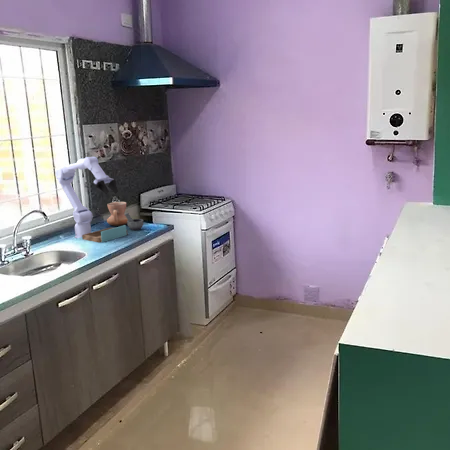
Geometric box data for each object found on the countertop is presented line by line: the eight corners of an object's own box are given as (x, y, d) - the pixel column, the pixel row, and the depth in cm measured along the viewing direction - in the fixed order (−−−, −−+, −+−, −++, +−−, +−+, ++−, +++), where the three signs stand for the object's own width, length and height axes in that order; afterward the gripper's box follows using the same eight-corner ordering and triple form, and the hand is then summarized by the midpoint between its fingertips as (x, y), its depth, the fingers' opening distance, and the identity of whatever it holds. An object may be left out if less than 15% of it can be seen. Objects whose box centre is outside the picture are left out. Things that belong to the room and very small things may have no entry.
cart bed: (82, 241, 307) (81, 235, 306) (110, 233, 323) (110, 227, 322) (99, 245, 297) (99, 238, 297) (127, 236, 314) (127, 230, 313)
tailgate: (101, 242, 298) (100, 231, 297) (125, 235, 312) (124, 225, 311) (102, 242, 298) (101, 231, 296) (126, 235, 311) (125, 225, 310)
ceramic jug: (110, 222, 356) (108, 201, 352) (132, 221, 355) (130, 200, 352) (104, 228, 338) (101, 206, 335) (126, 227, 337) (124, 205, 334)
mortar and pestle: (145, 229, 330) (144, 210, 328) (142, 233, 321) (140, 213, 319) (127, 230, 331) (126, 211, 328) (124, 233, 322) (122, 214, 319)
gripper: (94, 169, 289) (107, 188, 286) (111, 169, 302) (124, 187, 299) (87, 178, 292) (100, 197, 289) (105, 177, 305) (117, 195, 302)
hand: (112, 192), depth 294 cm, fingers open, 7 cm apart
